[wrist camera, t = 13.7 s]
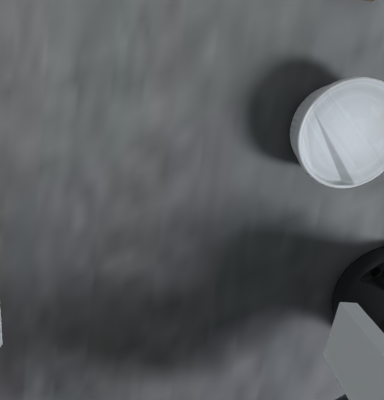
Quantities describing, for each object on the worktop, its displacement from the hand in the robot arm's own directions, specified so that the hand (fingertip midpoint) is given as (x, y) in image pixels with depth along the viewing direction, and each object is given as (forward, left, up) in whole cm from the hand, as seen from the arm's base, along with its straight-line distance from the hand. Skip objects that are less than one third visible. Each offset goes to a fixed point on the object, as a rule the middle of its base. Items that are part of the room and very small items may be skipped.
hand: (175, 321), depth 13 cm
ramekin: (-18, -6, -27) cm, 33 cm away
